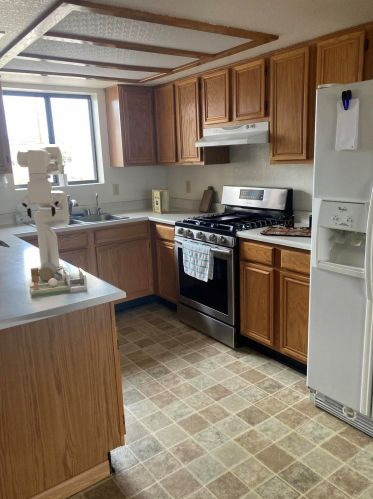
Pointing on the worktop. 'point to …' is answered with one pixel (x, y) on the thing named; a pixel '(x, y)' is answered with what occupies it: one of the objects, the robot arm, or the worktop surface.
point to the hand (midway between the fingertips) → (41, 216)
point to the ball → (52, 282)
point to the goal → (75, 281)
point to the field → (48, 289)
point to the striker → (35, 277)
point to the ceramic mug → (49, 272)
